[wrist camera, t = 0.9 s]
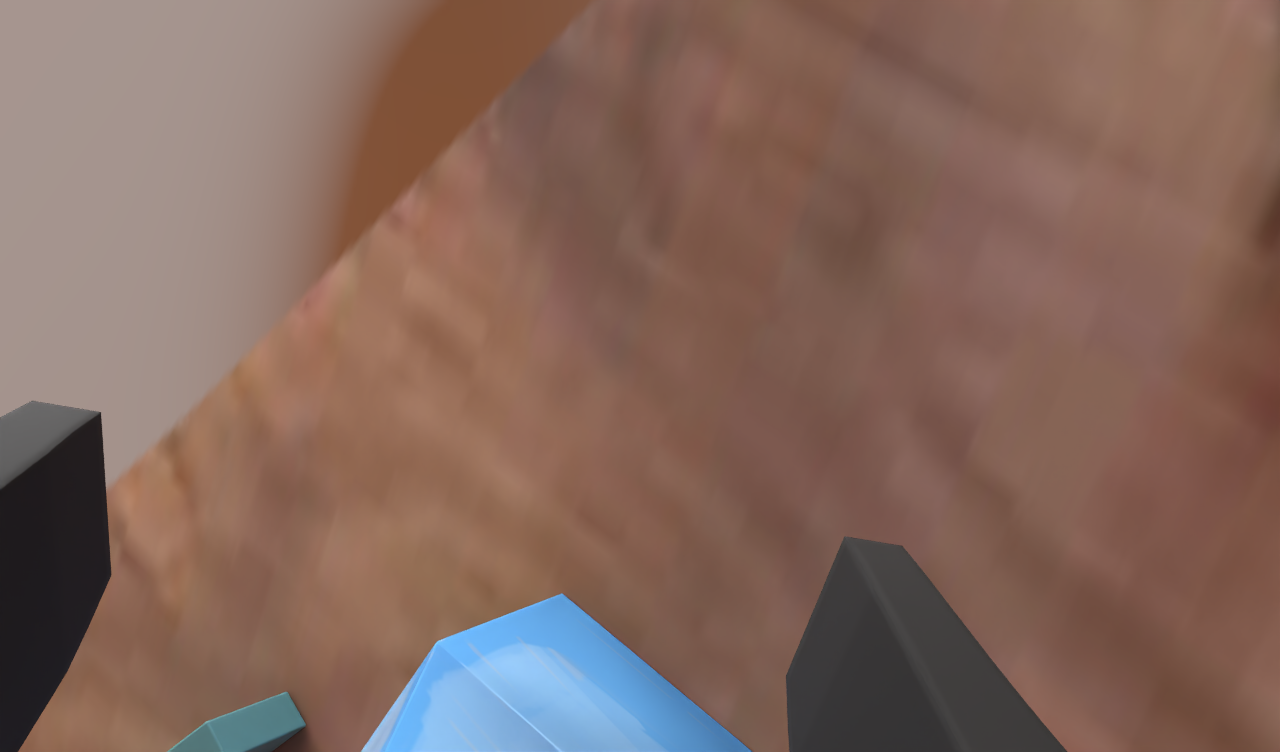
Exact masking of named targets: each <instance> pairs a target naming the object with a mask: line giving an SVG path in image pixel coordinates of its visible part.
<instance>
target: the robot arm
mask: <svg viewBox="0 0 1280 752" xmlns="http://www.w3.org/2000/svg"><path fill="white" fill-rule="evenodd" d="M110 577H111V562H110V546H109V531H108V515H107V500H106V484H105V469H104V453H103V437H102V424H101V412H96V411H90V410H84V409H78V408H72V407H66V406H60V405H54V404H48V403H42V402H36V401H31V402H29V403H27V404H25V405H23V406H21V407H19V408H18V409H15V410H13V411H12V412H10V413H8V414H6V415H4V416H2V417H0V752H18V751H19V749H20V747H21V746H22V744H23V743H24V741H25V739H26V738H27V736H28V735H29V733H30V731H31V730H32V728H33V726H34V725H35V723H36V722H37V720H38V718H39V717H40V715H41V713H42V712H43V710H44V709H45V707H46V705H47V704H48V702H49V701H50V699H51V697H52V696H53V694H54V692H55V691H56V689H57V687H58V686H59V684H60V682H61V681H62V679H63V677H64V676H65V674H66V673H67V671H68V669H69V667H70V665H71V662H72V660H73V658H74V656H75V654H76V652H77V650H78V648H79V646H80V643H81V641H82V639H83V637H84V635H85V633H86V631H87V629H88V627H89V624H90V622H91V620H92V618H93V615H94V613H95V611H96V609H97V606H98V604H99V602H100V599H101V597H102V595H103V593H104V590H105V588H106V586H107V584H108V581H109V579H110ZM786 686H787V713H788V735H789V750H790V752H1067V751H1066V750H1065V749H1064V747H1063V746H1062V745H1061V744H1060V743H1059V742H1058V740H1057V739H1056V738H1055V737H1054V736H1053V734H1052V733H1051V732H1050V731H1049V730H1048V729H1047V727H1046V726H1045V725H1044V724H1043V723H1042V721H1041V720H1040V719H1039V718H1038V717H1037V715H1036V714H1035V713H1034V712H1033V711H1032V709H1031V708H1030V707H1029V706H1028V704H1027V703H1026V702H1025V701H1024V700H1023V698H1022V697H1021V696H1020V695H1019V693H1018V692H1017V691H1016V690H1015V688H1014V687H1013V686H1012V685H1011V683H1010V682H1009V681H1008V680H1007V678H1006V677H1005V676H1004V675H1003V673H1002V672H1001V671H1000V670H999V668H998V667H997V666H996V665H995V663H994V662H993V661H992V660H991V658H990V657H989V656H988V654H987V653H986V652H985V651H984V649H983V648H982V647H981V646H980V644H979V643H978V642H977V640H976V639H975V638H974V636H973V635H972V634H971V633H970V631H969V630H968V629H967V627H966V626H965V625H964V624H963V622H962V621H961V620H960V618H959V617H958V616H957V615H956V613H955V612H954V611H953V609H952V608H951V607H950V605H949V604H948V603H947V602H946V600H945V599H944V598H943V596H942V595H941V594H940V593H939V591H938V590H937V589H936V587H935V586H934V585H933V584H932V582H931V581H930V580H929V578H928V577H927V576H926V575H925V573H924V572H923V571H922V570H921V568H920V567H919V566H918V565H917V563H916V562H915V561H914V560H913V558H912V557H911V556H910V555H909V554H908V552H907V551H906V550H905V549H904V548H903V546H899V545H893V544H887V543H881V542H875V541H869V540H863V539H857V538H851V537H845V536H844V539H843V541H842V544H841V546H840V548H839V551H838V553H837V556H836V558H835V560H834V563H833V565H832V567H831V570H830V572H829V575H828V577H827V579H826V582H825V584H824V587H823V589H822V591H821V594H820V596H819V599H818V601H817V603H816V606H815V608H814V610H813V613H812V615H811V618H810V620H809V622H808V625H807V627H806V630H805V632H804V634H803V637H802V639H801V641H800V644H799V646H798V649H797V651H796V653H795V656H794V658H793V661H792V663H791V665H790V668H789V670H788V673H787V675H786Z"/></svg>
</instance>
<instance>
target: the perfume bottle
mask: <svg viewBox="0 0 1280 752" xmlns="http://www.w3.org/2000/svg"><path fill="white" fill-rule="evenodd" d="M361 752H752V751H751V750H750V749H749V748H747V747H746V746H745V745H744V744H743V743H741V742H740V741H739V740H738V739H737V738H735V737H734V736H733V735H732V734H731V733H729V732H728V731H727V730H726V729H725V728H723V727H722V726H721V725H720V724H719V723H717V722H716V721H715V720H714V719H713V718H711V717H710V716H709V715H708V714H706V713H705V712H704V711H703V710H702V709H700V708H699V707H698V706H697V705H696V704H694V703H693V702H692V701H691V700H690V699H688V698H687V697H686V696H685V695H684V694H682V693H681V692H680V691H679V690H678V689H676V688H675V687H674V686H673V685H672V684H670V683H669V682H668V681H667V680H666V679H664V678H663V677H662V676H661V675H660V674H658V673H657V672H656V671H655V670H654V669H652V668H651V667H650V666H649V665H648V664H646V663H645V662H644V661H643V660H642V659H640V658H639V657H638V656H637V655H636V654H634V653H633V652H632V651H631V650H630V649H628V648H627V647H626V646H625V645H624V644H622V643H621V642H620V641H619V640H618V639H616V638H615V637H614V636H613V635H611V634H610V633H609V632H608V631H607V630H605V629H604V628H603V627H602V626H601V625H599V624H598V623H597V622H596V621H595V620H593V619H592V618H591V617H590V616H589V615H587V614H586V613H585V612H584V611H583V610H581V609H580V608H579V607H578V606H577V605H575V604H574V603H573V602H572V601H571V600H569V599H568V598H567V597H566V596H565V595H563V594H560V595H557V596H554V597H552V598H549V599H546V600H544V601H541V602H539V603H536V604H533V605H531V606H528V607H526V608H523V609H520V610H518V611H515V612H512V613H510V614H507V615H505V616H502V617H499V618H497V619H494V620H492V621H489V622H486V623H484V624H481V625H479V626H476V627H473V628H471V629H468V630H465V631H463V632H460V633H458V634H455V635H452V636H450V637H447V638H445V639H442V640H439V641H437V642H436V644H435V645H434V647H433V648H432V650H431V651H430V653H429V654H428V655H427V657H426V658H425V660H424V661H423V663H422V664H421V666H420V667H419V669H418V670H417V671H416V673H415V674H414V676H413V677H412V679H411V680H410V682H409V683H408V684H407V686H406V687H405V689H404V690H403V692H402V693H401V695H400V696H399V698H398V699H397V700H396V702H395V703H394V705H393V706H392V708H391V709H390V711H389V712H388V714H387V715H386V716H385V718H384V719H383V721H382V722H381V724H380V725H379V727H378V728H377V729H376V731H375V732H374V734H373V735H372V737H371V738H370V740H369V741H368V743H367V744H366V745H365V747H364V748H363V750H362V751H361Z"/></svg>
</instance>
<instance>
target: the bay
mask: <svg viewBox="0 0 1280 752" xmlns="http://www.w3.org/2000/svg"><path fill="white" fill-rule="evenodd" d="M305 726H306V724H305V722H304V720H303V719H302V717H301V715H300V713H299V711H298V710H297V708H296V706H295V704H294V703H293V701H292V699H291V697H290V696H289V694H288V693H287V692H284V693H282V694H279V695H276V696H274V697H271V698H268V699H266V700H263V701H260V702H257V703H255V704H252V705H249V706H247V707H244V708H241V709H239V710H236V711H233V712H231V713H228V714H225V715H223V716H220V717H217V718H215V719H212V720H209V721H207V722H205V723H204V724H203V725H201V726H200V727H199V728H197V729H196V730H195V731H193V732H192V733H191V734H189V735H188V736H187V737H186V738H184V739H183V740H182V741H180V742H179V743H178V744H176V745H175V746H174V747H173V748H171V749H170V750H169V751H167V752H272V751H273V750H275V749H276V748H277V747H279V746H280V745H281V744H283V743H284V742H285V741H287V740H288V739H289V738H291V737H292V736H293V735H295V734H296V733H297V732H299V731H300V730H301V729H303V728H304V727H305Z"/></svg>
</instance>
